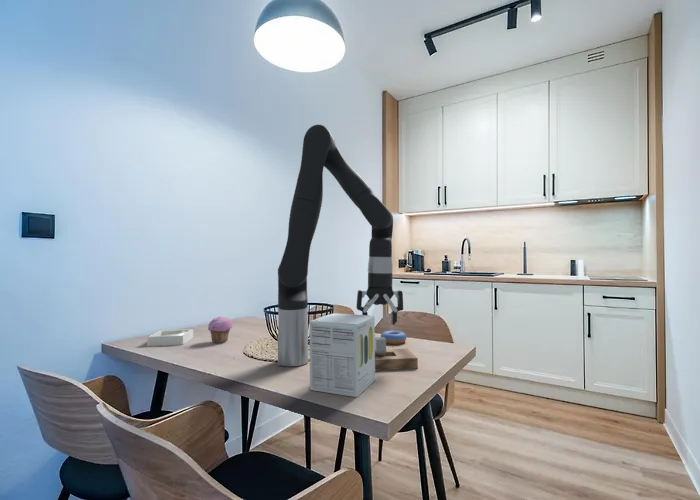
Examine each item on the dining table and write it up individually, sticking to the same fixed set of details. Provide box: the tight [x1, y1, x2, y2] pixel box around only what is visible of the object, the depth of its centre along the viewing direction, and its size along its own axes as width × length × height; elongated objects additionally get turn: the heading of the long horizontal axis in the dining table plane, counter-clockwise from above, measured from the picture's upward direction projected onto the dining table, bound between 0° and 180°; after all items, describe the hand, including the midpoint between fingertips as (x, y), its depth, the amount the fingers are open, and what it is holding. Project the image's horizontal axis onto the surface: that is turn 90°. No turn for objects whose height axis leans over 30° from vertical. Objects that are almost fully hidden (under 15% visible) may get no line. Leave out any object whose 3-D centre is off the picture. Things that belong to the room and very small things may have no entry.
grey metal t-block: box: [375, 336, 387, 357], centre depth 112 cm, size 7×3×8 cm, turn 96°
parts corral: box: [146, 328, 194, 347], centre depth 145 cm, size 13×12×4 cm
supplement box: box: [309, 312, 376, 398], centre depth 95 cm, size 13×13×18 cm
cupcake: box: [207, 316, 233, 344], centre depth 143 cm, size 9×9×10 cm
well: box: [375, 348, 419, 371], centre depth 112 cm, size 20×11×3 cm, turn 96°
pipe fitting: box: [165, 331, 186, 336], centre depth 145 cm, size 8×4×7 cm
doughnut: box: [380, 330, 407, 345], centre depth 141 cm, size 10×10×5 cm
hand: (379, 324), depth 112 cm, fingers open, 8 cm apart
